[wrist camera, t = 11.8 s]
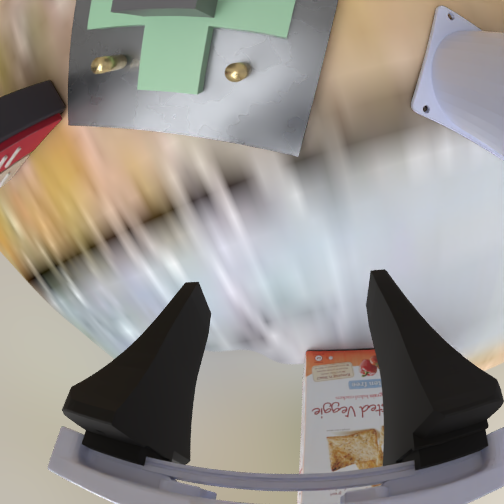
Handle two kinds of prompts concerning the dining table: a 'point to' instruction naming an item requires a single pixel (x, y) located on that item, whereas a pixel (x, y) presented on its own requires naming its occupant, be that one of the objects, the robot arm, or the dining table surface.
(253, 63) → the chassis plate
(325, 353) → the cracker box
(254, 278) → the dining table surface
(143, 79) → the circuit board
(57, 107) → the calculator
